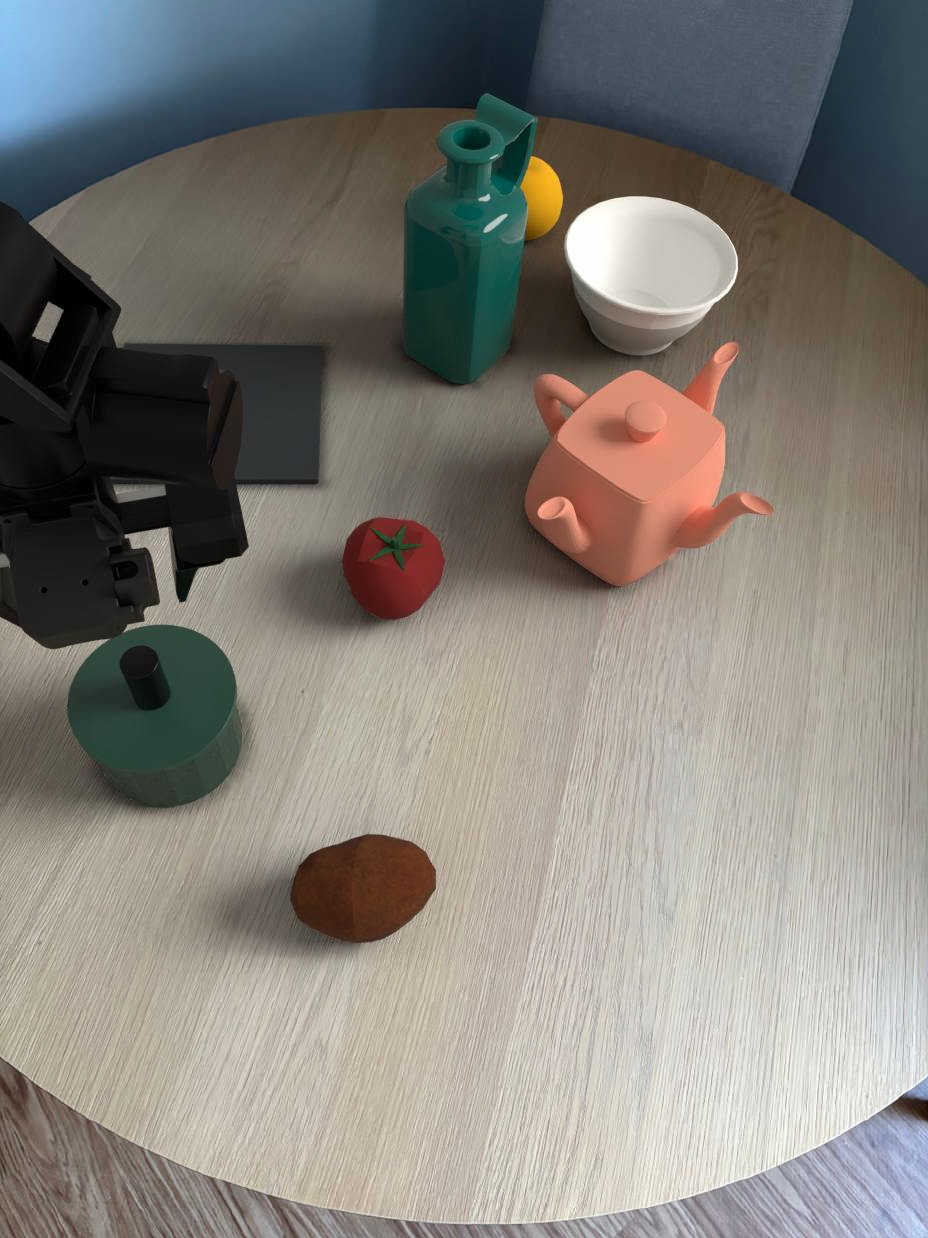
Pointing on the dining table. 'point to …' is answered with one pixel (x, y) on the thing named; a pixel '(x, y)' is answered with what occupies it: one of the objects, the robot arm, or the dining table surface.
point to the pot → (633, 471)
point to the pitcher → (467, 243)
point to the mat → (268, 408)
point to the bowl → (647, 270)
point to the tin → (183, 773)
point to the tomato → (392, 566)
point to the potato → (363, 887)
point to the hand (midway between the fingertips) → (107, 610)
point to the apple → (541, 198)
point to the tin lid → (152, 699)
